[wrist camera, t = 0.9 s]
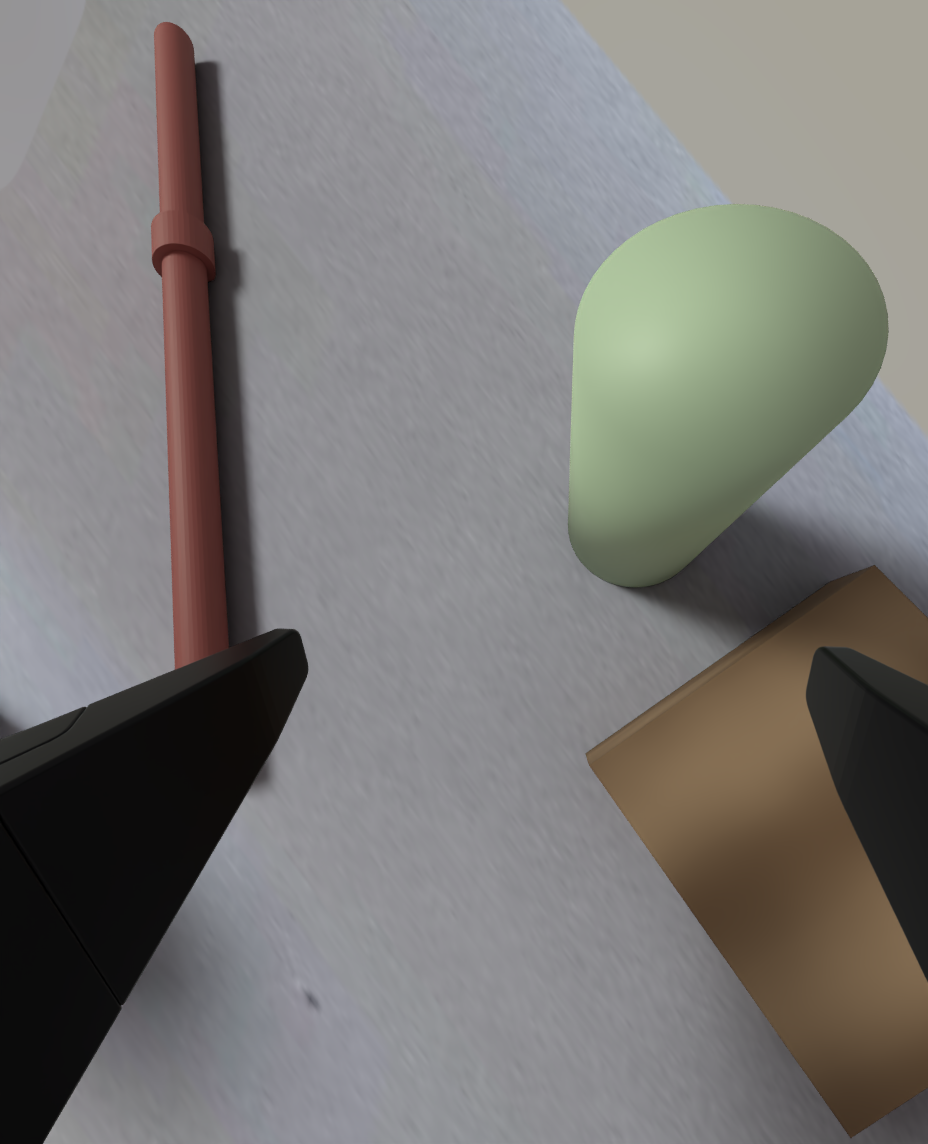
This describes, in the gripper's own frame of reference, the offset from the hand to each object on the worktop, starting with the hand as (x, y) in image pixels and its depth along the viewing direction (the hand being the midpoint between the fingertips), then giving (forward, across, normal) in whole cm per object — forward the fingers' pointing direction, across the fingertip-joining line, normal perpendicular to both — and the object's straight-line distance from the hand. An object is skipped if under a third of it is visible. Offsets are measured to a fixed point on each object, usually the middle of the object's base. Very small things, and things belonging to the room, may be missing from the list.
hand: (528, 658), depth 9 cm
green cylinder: (+15, -3, +3) cm, 15 cm away
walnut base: (+8, -9, +12) cm, 17 cm away
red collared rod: (+20, +20, -6) cm, 29 cm away
